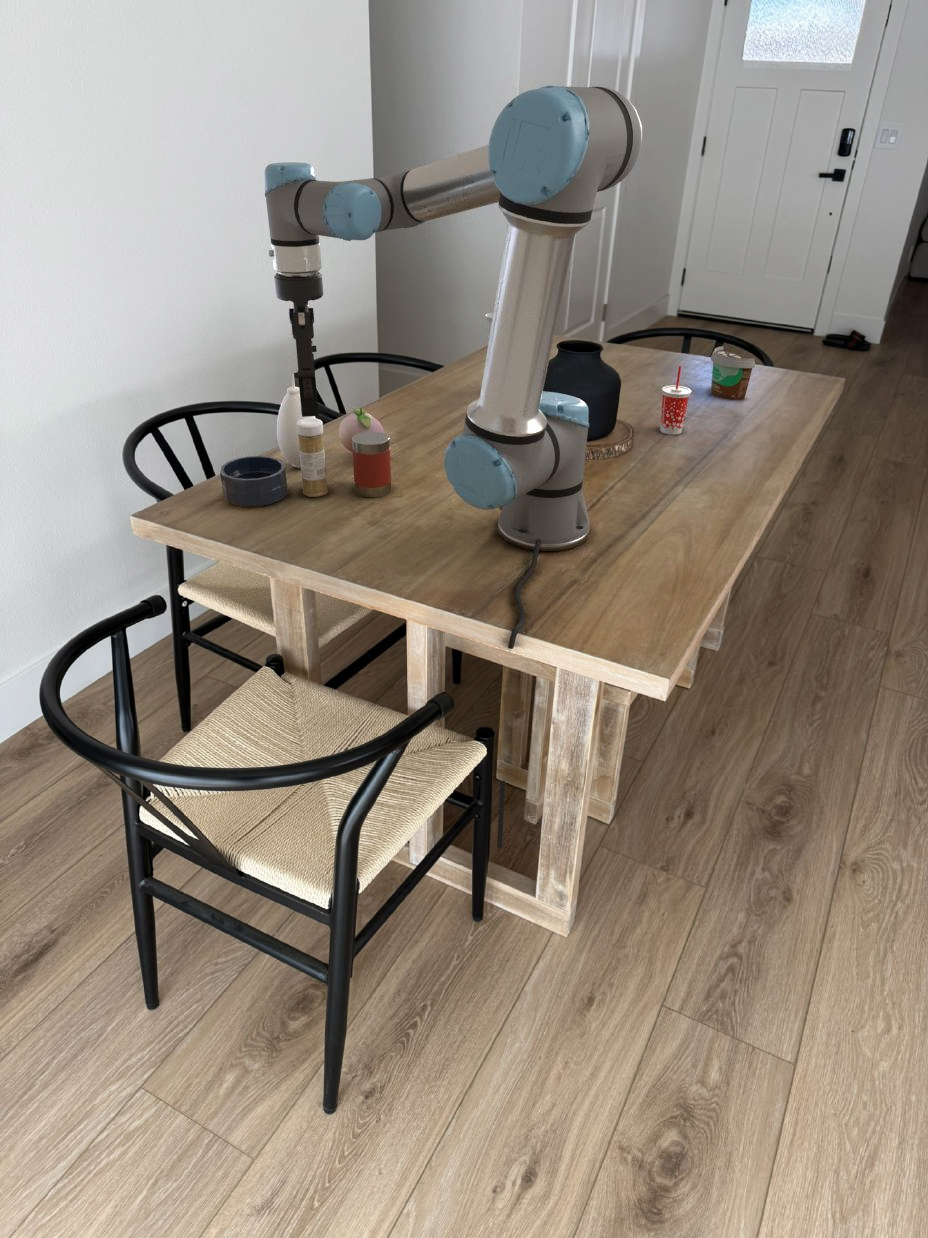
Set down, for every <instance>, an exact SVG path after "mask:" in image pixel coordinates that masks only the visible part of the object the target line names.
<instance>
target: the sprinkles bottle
mask: <svg viewBox="0 0 928 1238" xmlns="http://www.w3.org/2000/svg"><path fill="white" fill-rule="evenodd" d="M315 418H316V417H315ZM315 418H306V419H301V420H299V421H298V422H297V423H296V427H297V433H298V438H299V454H300V465H301V468H300V475H301V482H302V493H303V495H304V496H307V497H309V498H319V497H323V496H325V495H327V494H328V488H327V486H328V485H327V468H326V455H325V453H326V452H325V448H324V437H323V436H324V423H323V421H322V420H321V419H319V418H316V419H315Z"/></svg>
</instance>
